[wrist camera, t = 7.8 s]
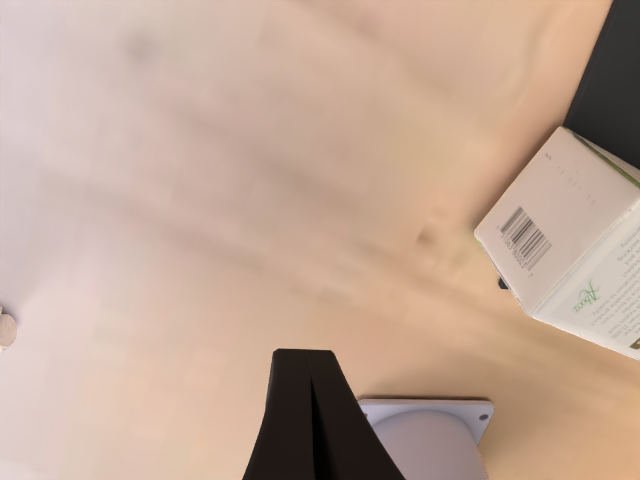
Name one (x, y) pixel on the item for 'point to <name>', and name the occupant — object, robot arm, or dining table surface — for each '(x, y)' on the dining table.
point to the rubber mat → (611, 88)
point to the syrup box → (572, 241)
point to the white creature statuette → (6, 330)
